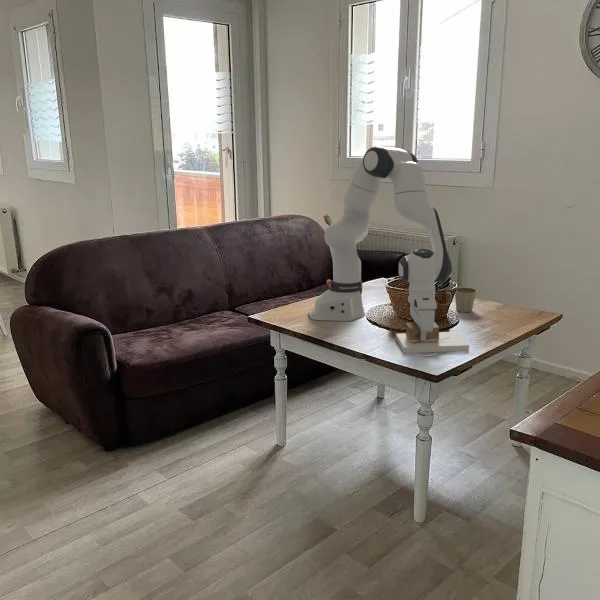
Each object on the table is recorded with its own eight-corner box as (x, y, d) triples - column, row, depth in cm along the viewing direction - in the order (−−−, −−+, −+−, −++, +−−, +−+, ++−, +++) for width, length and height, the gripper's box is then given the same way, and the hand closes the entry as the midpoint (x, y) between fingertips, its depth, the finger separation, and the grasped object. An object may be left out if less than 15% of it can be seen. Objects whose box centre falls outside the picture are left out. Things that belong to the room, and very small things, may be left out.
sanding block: (409, 342, 209) (409, 328, 207) (405, 336, 214) (406, 323, 213) (438, 341, 209) (439, 327, 208) (434, 335, 215) (434, 321, 213)
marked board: (403, 353, 205) (404, 347, 205) (395, 338, 219) (396, 333, 218) (468, 350, 206) (469, 345, 206) (456, 336, 220) (457, 331, 219)
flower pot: (474, 307, 254) (475, 287, 251) (478, 314, 245) (479, 293, 242) (451, 307, 255) (452, 287, 252) (454, 313, 246) (455, 293, 243)
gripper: (406, 289, 217) (405, 326, 221) (418, 306, 198) (417, 346, 202) (423, 289, 218) (422, 326, 221) (438, 305, 198) (436, 345, 202)
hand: (420, 336), depth 211 cm, fingers closed on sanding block, 6 cm apart
